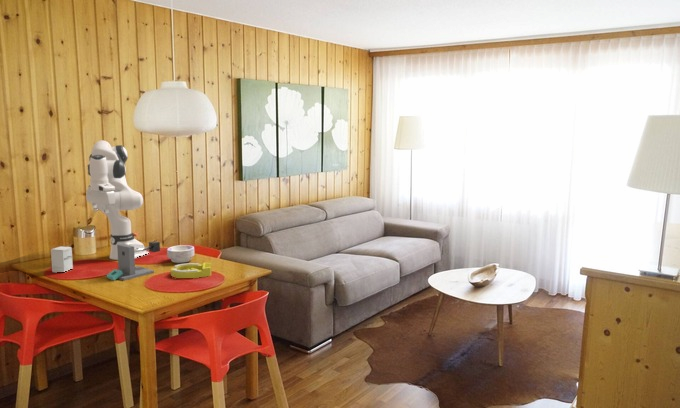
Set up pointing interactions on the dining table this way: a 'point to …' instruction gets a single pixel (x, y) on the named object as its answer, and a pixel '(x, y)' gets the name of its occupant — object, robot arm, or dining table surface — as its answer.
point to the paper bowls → (180, 253)
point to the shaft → (150, 247)
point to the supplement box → (61, 259)
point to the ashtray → (191, 270)
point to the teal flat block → (114, 274)
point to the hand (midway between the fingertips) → (101, 212)
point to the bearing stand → (129, 263)
